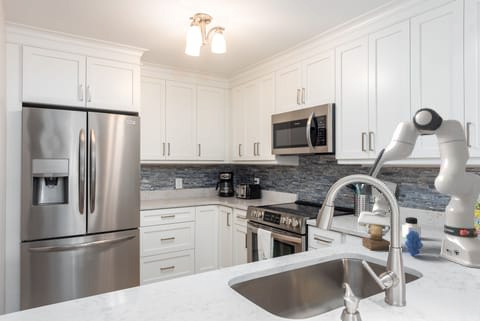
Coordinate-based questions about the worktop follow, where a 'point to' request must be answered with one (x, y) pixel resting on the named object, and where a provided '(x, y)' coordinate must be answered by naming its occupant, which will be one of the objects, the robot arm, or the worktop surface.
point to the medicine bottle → (410, 227)
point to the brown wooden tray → (376, 244)
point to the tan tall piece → (376, 232)
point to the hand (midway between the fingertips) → (375, 234)
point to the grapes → (413, 243)
